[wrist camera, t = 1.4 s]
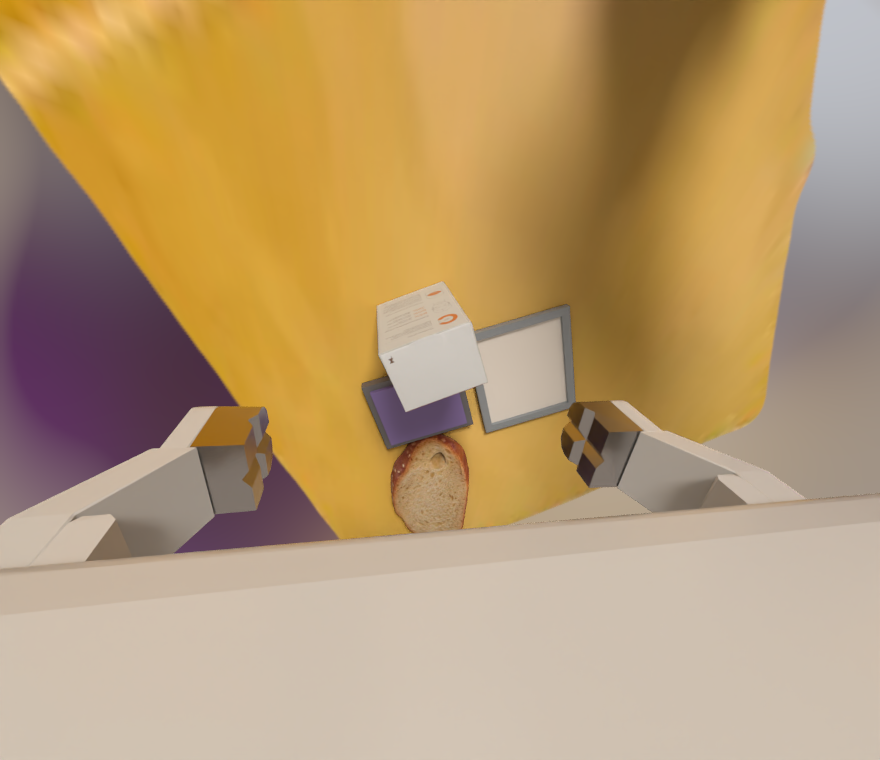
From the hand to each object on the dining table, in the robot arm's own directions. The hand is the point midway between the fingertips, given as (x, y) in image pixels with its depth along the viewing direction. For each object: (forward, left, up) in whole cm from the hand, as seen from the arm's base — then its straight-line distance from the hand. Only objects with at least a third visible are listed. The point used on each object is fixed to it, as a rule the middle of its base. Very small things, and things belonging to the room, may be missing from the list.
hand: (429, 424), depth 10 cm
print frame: (-12, +20, -32) cm, 39 cm away
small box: (-1, +9, -32) cm, 33 cm away
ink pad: (+2, +20, -32) cm, 38 cm away
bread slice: (+4, +36, -33) cm, 49 cm away
